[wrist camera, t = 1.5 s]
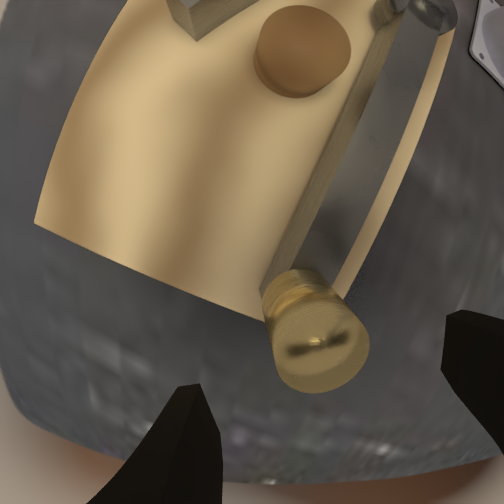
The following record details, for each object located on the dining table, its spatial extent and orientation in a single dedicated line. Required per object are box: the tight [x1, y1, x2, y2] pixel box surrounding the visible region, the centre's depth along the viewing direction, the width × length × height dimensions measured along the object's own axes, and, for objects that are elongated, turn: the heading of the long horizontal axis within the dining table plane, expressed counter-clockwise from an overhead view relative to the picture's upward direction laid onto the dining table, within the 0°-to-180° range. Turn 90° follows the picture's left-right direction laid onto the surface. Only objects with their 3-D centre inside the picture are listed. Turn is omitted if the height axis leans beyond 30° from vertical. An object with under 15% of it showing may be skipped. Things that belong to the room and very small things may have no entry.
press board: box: [34, 0, 455, 322], centre depth 15 cm, size 18×22×1 cm
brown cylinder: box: [254, 5, 351, 98], centre depth 13 cm, size 4×4×3 cm
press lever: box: [259, 0, 458, 393], centre depth 11 cm, size 19×4×7 cm, turn 155°
